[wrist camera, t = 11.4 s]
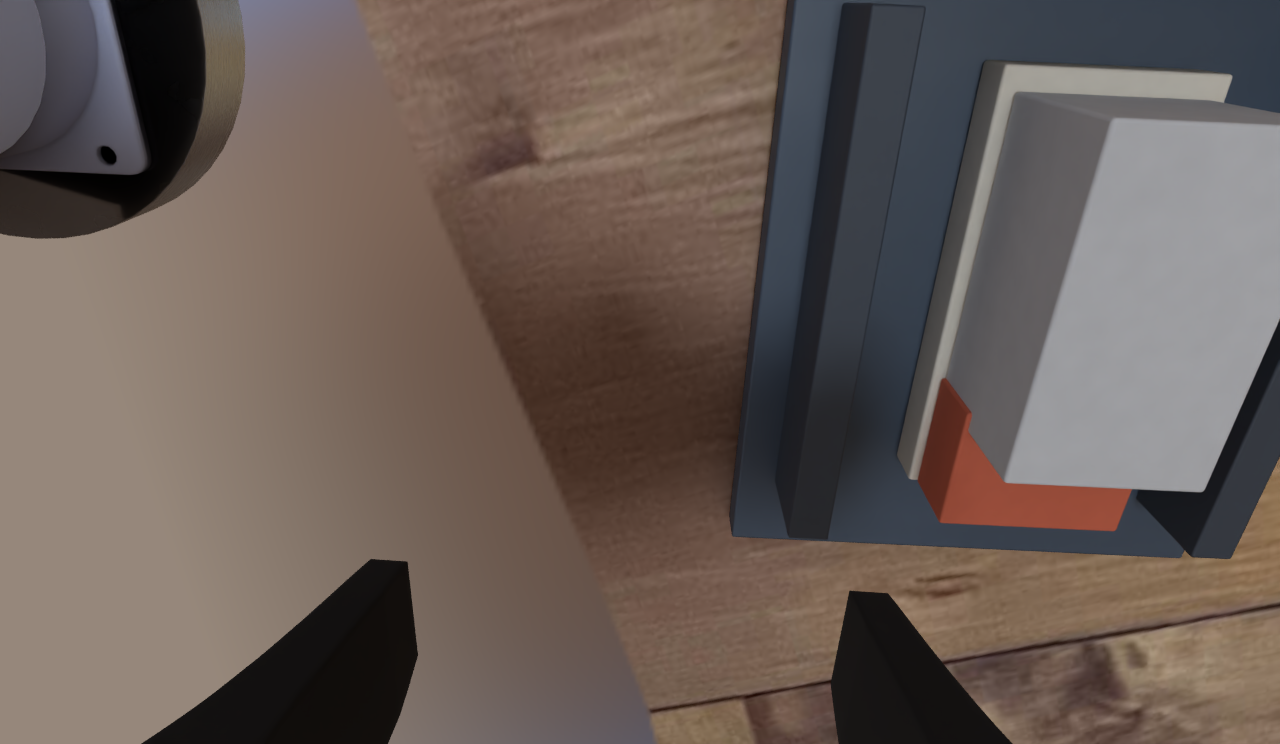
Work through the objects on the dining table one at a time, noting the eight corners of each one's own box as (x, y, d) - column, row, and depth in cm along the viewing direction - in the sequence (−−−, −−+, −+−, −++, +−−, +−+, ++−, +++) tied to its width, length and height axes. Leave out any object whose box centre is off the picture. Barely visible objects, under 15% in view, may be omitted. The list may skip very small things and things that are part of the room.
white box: (1065, 463, 21) (1176, 592, 16) (895, 455, 21) (960, 581, 16) (1198, 69, 16) (1400, 96, 12) (983, 59, 16) (1104, 82, 12)
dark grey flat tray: (1161, 537, 23) (1240, 622, 20) (729, 516, 23) (739, 598, 20) (1422, -79, 16) (1609, -97, 13) (799, -107, 16) (832, -132, 13)
